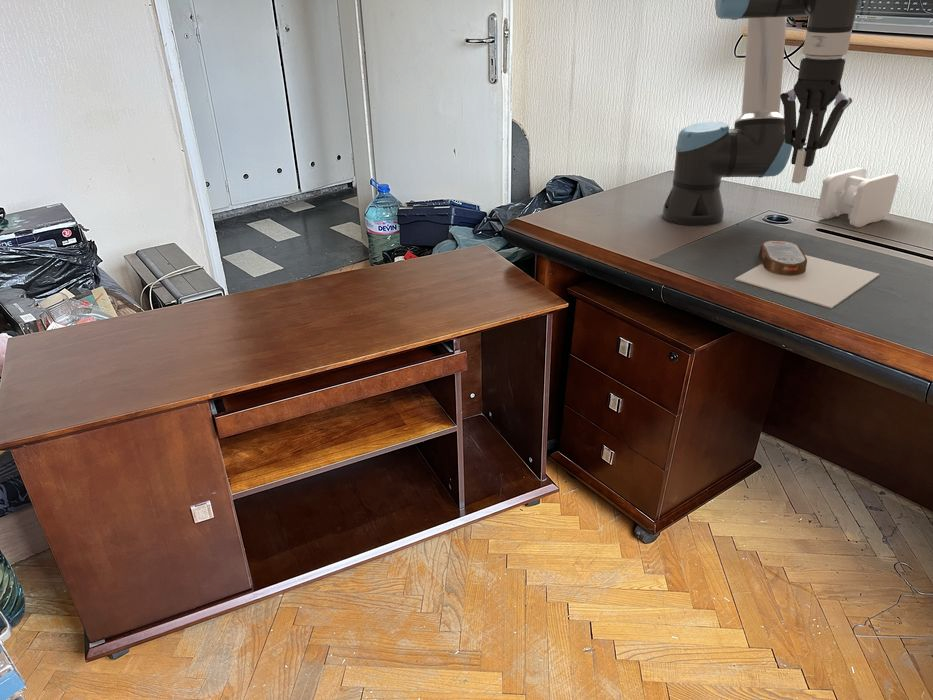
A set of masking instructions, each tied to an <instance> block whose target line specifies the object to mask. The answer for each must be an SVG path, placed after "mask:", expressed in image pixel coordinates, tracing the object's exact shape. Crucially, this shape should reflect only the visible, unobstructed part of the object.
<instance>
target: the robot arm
mask: <svg viewBox="0 0 933 700" xmlns="http://www.w3.org/2000/svg"><path fill="white" fill-rule="evenodd" d="M859 1H860V0H715V1H714V9H715V15H716V16H717V18H719V19H720V20H722V19H723V20H725V19H726V20H731V21H732V20H733V21H735V20H738V19H739V20H740V19H743V20H744V19H747V29H746V30H747V31H746V47H745V62H744V63H745V64H744V76H743V77H744V78H743V88H742V89H743V91H742V106H741V115H740V116H739V117H738V118H737V119H736V120H735V121H734V125H733V126H734V127H733V128H730V127H729V124H728V123H727V122H723V121H705V122H698V123H695V124H690V125H687V126H685V127H684V128H682V129H681V130H680V131H679V133H678V135H677V136H678V137H677V141H676V146H675V160H674V167H673V168H674V170H673V178H672V186H671V189H670V191H669V193H668V195H667V198H666V200H665V203H664V205H663V208H662V218H664V219H665V220H666V221H668V222H670V223H674V224H678V225H683V226H691V227H693V226H695V227H697V226H710V225H715V224H718V223H720V222H721V221H723V218H724V212H725V210H724V209H725V208H724V204H723V203H724V202H723V199H722V193H721V181H722V178H759V179H760V178H766V177H776V176H778V175H780V174H781V173H782V172H783V170H784V169H785V168H786V167H787V164H788V163H789V160H790V156H792V157H791V160H790V162H791V165H794V167H793V174H792V178H791V183H794V184H801V183H803V182H805V181H806V178H807V173H808V168H809V167H812V166H813V165H814V163H815V162H814V161H815V157H816V153H817V150H821V149H823V148H825V147H828V145H829V143H830V141H831V138H832V136H833V134H834V132H835V130H836V128H837V126H838V124H839V122H840V120H841V118H842V116H843V114H844V111H845V110H846V109H847V108H848V107H849V106H850V105H851V104H852V102H853V99H852V97H846V95H845V94H843V93H842V85H841V81H842V78H843V73H844V70H845V65H846V58H845V56H846V55H847V54H848V52H849V47H850V41H851V37H852V30H853V27H854V23H855V18H856V13H857V10H858V5H859ZM791 17H792V18H793V17H794V18H795V17H796V18H797V17H808V21H807V26H806V32H805V38H804V44H803V48H802V54H803V55H804V56H802V58H800V63H799V68H798V74H797V80H796V82H795V84H794V85H793V88H792V89H790V90H788V91H784V92H782V87H783V86H782V83H783V71H784V58H785V57H784V56H785V44H786V43H785V42H786V31H787V18H791ZM796 99H797V101H798V103H799V109H798V113H799V114H798V119H797V105H796ZM833 101H834V105H833V106H834V107H833V109H832V110H831V112H830V114H829V117H828V119H827V121H826V122H825V125H824V127H823V124H824V121H825V120H824V119H825V115H826V113H827V110H828V107H829V105H831V104H832V103H833ZM781 103H782V105H783V115H782V114H781V112H780V110H781V109H780V107H781ZM809 126H810V127H809ZM808 131H809V133H808ZM806 140H807V141H806ZM792 150H793V151H792ZM791 153H792V155H791Z"/></svg>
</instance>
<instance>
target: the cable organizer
mask: <svg viewBox="0 0 933 700" xmlns="http://www.w3.org/2000/svg"><path fill="white" fill-rule="evenodd" d="M867 173H868V172H867V169H866V168H863V167H853V168H849V169H845V170H842V171H837V172H835V173H830V174H829V175H827V176H826V177H825V178H824V179H822V186H821V191H820V192H821V193H820V197H819V200H818V205H817V210H816V216H817V217H819V218H822V219H824V220H829V218H830V219H832V218H835V217H837V218H840V217H839V216H840V215H846V214H847V215H848V217H847V220H848V221H849V224H850V225H851V226H853V227H855V228H857V229H858V227H859V228H861V227H864V226H866V225H867V224H871V223H876V222H880V221H882V220H884V219H885V218H886V217H887V216H889V214H890V212H891V210H892V205H893V202H894V199H895V198H894V197H895V195H896V194H895V193H896V190H897V186H898V183H899V180H900V179H899V178H900V177H899V175H898V174H897V173H891V172H890V173H886V174H883V175H879V176H876V177H872V178H867Z"/></svg>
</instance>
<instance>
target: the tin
mask: <svg viewBox="0 0 933 700" xmlns="http://www.w3.org/2000/svg"><path fill="white" fill-rule="evenodd" d="M805 255H806V254H805V253H804V251H803V250H802V248H801V246H800V245H799V244H797V243H796V242H793V241H789V240H770V239H769V240H766V241H763V242H761V245H760V249H759V253H758V256H759V259H760V261H761V264H762V263H763V266H764V268H765V269H766V270H768V271H769V272H772V273H775V274H780V275H790V276H792V275H800V274H803V273H804V272H805V271H806V265H807V258H806V256H805Z"/></svg>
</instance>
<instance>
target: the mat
mask: <svg viewBox="0 0 933 700" xmlns="http://www.w3.org/2000/svg"><path fill="white" fill-rule="evenodd" d="M804 255H805V256H806V258H807V265H806V271H805V272H804V273H803V274H800V275H792V276H790V275H780V274H775V273H772V272H769V271H768V270H766V269H765V268H764V266H763V263H762V262H761V263H760V264H759V265H757V266H755V267H753V268H752V269H749V270H748V271H746V272H744V273H742V274H740V275H738V276H737V277H735V278H734V281H738V282H742V283H745V284H748V285H751V286H753V287H759V288H761V289H763V290H768V291H771V292H773V293H774V292H775V293H779V294H782V295H784V296H787V297H791V298H795V299H798V300H801V301H805V302H807V303H811V304H815V305H818V306H821V307H824V308H828V309H833V308H835V307H836V306H837V305H839V304H840V303H842V302H844V301H845V300H846V299H847V298H849V297H850V296H852V295H853V294H855V293H856V292H857V291H859V290H860V289H862V288H864V287H865V286H866V285H868V284H869V283H871V282H872V281H874V280H875V279H876V278H878V277H880V273H878V272H874V271H870V270H865V269H860V268H859V267H854V266H850V265H845V264H842V263H838V262H836V261H835V262H834V261H830V260H826V259H822V258H819V257H815V256H811V255H807V254H804Z"/></svg>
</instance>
